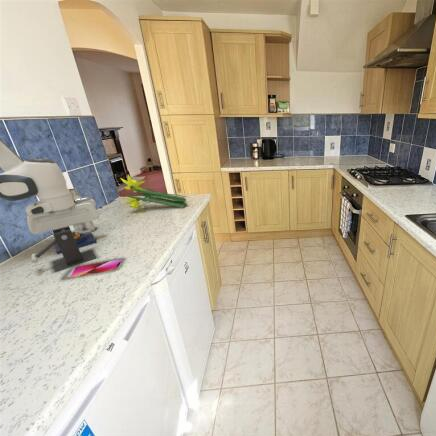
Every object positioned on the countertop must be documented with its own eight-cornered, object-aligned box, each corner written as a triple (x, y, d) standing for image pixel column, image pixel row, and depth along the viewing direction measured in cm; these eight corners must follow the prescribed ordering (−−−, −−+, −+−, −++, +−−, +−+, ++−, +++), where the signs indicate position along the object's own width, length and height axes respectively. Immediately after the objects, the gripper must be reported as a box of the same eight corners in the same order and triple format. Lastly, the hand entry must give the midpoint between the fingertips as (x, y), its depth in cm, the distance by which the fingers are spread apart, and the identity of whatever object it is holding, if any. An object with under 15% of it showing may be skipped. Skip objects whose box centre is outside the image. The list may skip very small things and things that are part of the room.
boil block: (58, 256, 90) (54, 247, 88) (56, 247, 96) (52, 238, 95) (97, 244, 98) (94, 235, 96) (93, 237, 104) (89, 228, 103)
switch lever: (37, 264, 77) (28, 260, 75) (36, 259, 80) (28, 255, 79) (71, 236, 81) (64, 231, 80) (69, 231, 85) (62, 227, 83)
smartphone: (73, 266, 82) (123, 258, 86) (75, 269, 82) (124, 260, 86) (62, 279, 75) (116, 269, 79) (63, 282, 76) (117, 272, 79)
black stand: (56, 274, 80) (39, 240, 74) (54, 264, 85) (38, 231, 80) (97, 260, 87) (84, 228, 82) (92, 251, 92) (80, 221, 87)
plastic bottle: (87, 236, 105) (69, 192, 97) (74, 235, 106) (55, 191, 98) (100, 230, 110) (84, 187, 102) (87, 229, 111) (70, 187, 103)
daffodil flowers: (179, 215, 127) (105, 202, 120) (185, 219, 141) (119, 207, 134) (186, 184, 130) (114, 170, 123) (191, 191, 144) (127, 179, 138)
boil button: (68, 244, 93) (66, 239, 92) (66, 240, 96) (64, 236, 95) (82, 240, 96) (80, 235, 95) (81, 237, 99) (79, 232, 98)
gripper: (91, 194, 98) (103, 225, 104) (20, 208, 85) (37, 242, 91) (94, 197, 94) (106, 229, 100) (19, 212, 81) (38, 248, 87)
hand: (73, 235), depth 95 cm, fingers closed, pressing on boil button
